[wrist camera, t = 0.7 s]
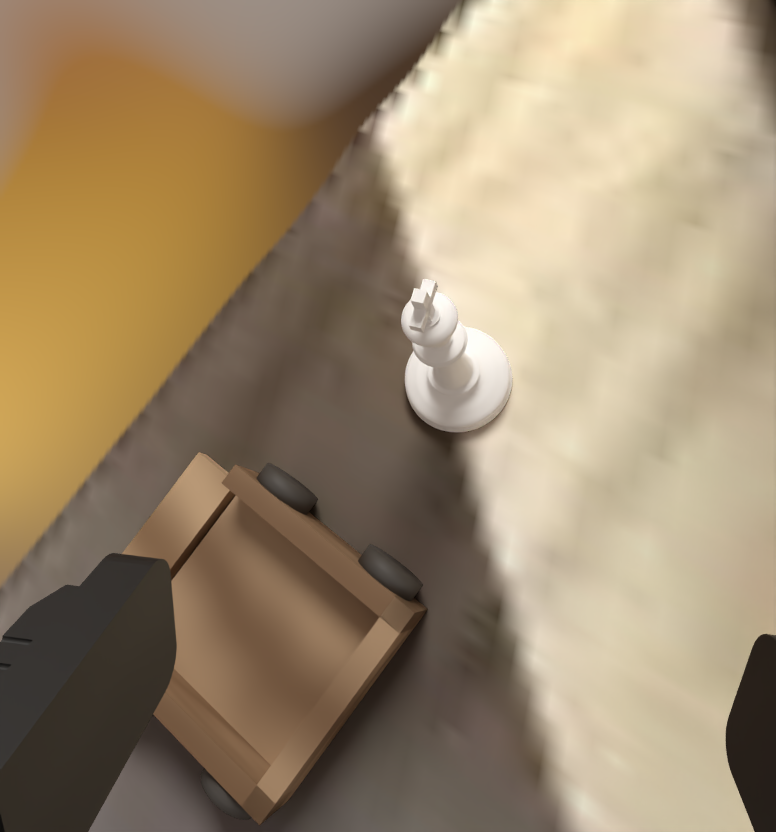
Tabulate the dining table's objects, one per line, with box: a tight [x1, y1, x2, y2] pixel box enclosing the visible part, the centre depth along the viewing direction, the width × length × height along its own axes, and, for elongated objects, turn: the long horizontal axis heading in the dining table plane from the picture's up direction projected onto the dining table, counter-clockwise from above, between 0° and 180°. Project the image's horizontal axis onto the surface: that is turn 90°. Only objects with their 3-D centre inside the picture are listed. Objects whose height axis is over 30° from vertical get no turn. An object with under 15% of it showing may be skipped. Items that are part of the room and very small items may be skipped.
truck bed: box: [122, 452, 427, 826], centre depth 30 cm, size 12×13×3 cm
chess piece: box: [401, 279, 512, 432], centre depth 27 cm, size 5×5×10 cm
